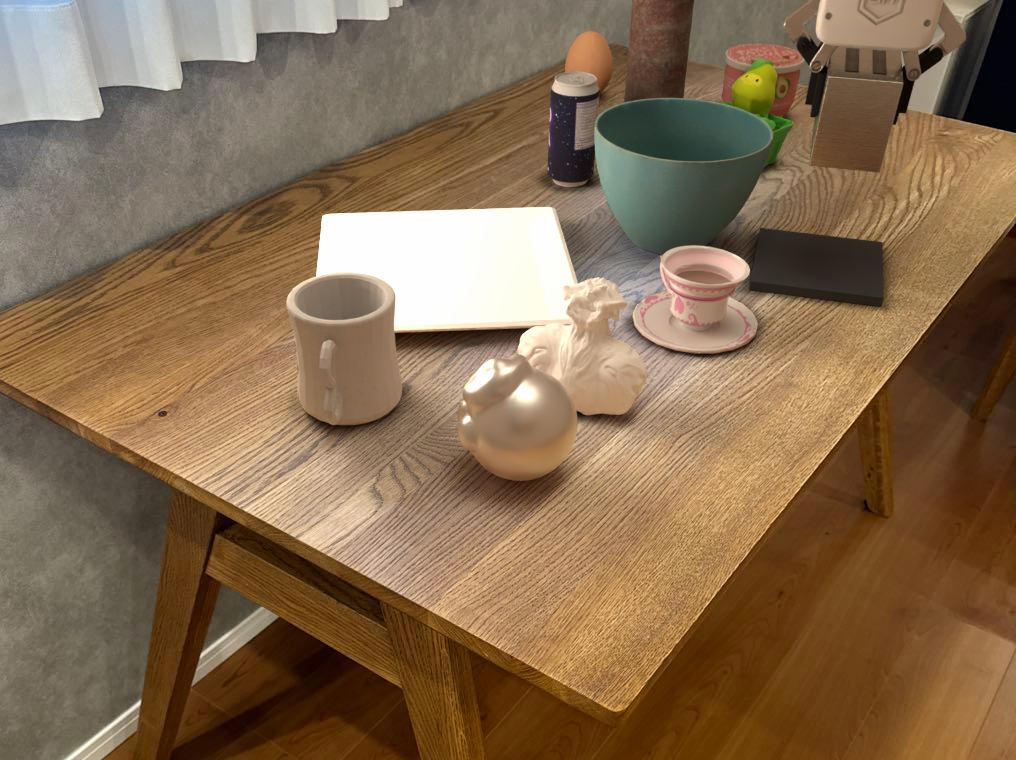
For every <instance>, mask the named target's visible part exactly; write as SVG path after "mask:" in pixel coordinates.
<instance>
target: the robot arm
mask: <svg viewBox="0 0 1016 760" xmlns="http://www.w3.org/2000/svg"><path fill="white" fill-rule="evenodd" d="M815 16H816V21H815V34H816V38H817V39H818V40H819V41H820V42H819V43H818V45H817V44H816V42H814V40H813V38H812V37H811V36H810V35H809V34H808V32H807V31H806V29H805V26H804V25H805V24H806V23H807V22H809V21H810V20H811V19H813V18H814V17H815ZM938 26H939V27H940V29H941V30H942V32H943V33H944V35H943V37H941V38H940V39H939V40H938V41H937V42H935V43H933V44H931V43H932V42H933V39H934V36H935V35H936V31H937V27H938ZM783 29H784V31H785V33H786V34H787V35H788V37H789V38H790V40H791V42H792V43H793V44H794V46H795V47H796V50H797V51H799V53H800V54H801V55H802V57H803V58H804V60H805V63H806V64H807V65H808V67H809V70H810V71H811V72H810V76H809V80H808V87H807V91H806V95H805V101H804V105H806V106H810V107H811V108H810V115H809V118H814V119H815V118H816V116H818V114H819V109H820V104H821V100H822V95H823V91H824V86H825V81H826V76H827V67H826V66H827V61H828V60H829V58H830V57H831V55H832V54H833V53H834V51H835V50H836V48H837V47H838V46H842V47H853V48H866V49H879V50H892V51H901V54H902V57H903V59H902V60H903V64H904V65H902V72H903V87H902V91H901V95H900V98H899V102H898V106H897V110H896V114H895V117H894V121H893V125H892V126H896V125H897V123H898V119H899V116H900V114H907V112H908V108H909V105H910V100H911V98H912V93H913V90H914V87H915V82H916V81H917V80H918V79H920V77H921V76H922V75H923V74H924V73H926V72H927V71H928V70H930V69H931V68H933V67H934V66H936V65H937V64H938V63H940V62H941V61H942V59H943V58H944V57H946V56H947V55H949V54H950V53H953V51H954V50H956V49H957V48H958V47H959V46H961V45H963V43H964V42H966V39H967V34H966V31H965V29H964V27H963V26H962V25H961V23H960V22H959V20H958V19H957V18H956V16H955V15H954V13H953V12H952V11H951V8H949V6H948V5H947V4H946V2H945V0H808V1H806V2H805V3H804V4H802V5H801V6H800V7H798V8H797V9H796V10H794V11H793V12H792V13H791V14H789V15H787V17H786V18H785V19H784V21H783ZM924 49H925V50H924ZM921 50H923V51H921ZM919 51H921V52H920V53H919Z"/></svg>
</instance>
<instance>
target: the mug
mask: <svg viewBox="0 0 1016 760" xmlns="http://www.w3.org/2000/svg"><path fill="white" fill-rule="evenodd" d="M395 300H396V295H395V292H394V290H393V288H392V287H391V286H390V285H389V284H388V283H387V282H385V281H384V280H382V279H380V278H378V277H375V276H372V275H368V274H364V273H355V272H337V273H329V274H323V275H320V276H313V277H310V278H307V279H305V280H303V281H301V282H300V283H298V284H297V285H296V286H294V287H293V288H292V289H291V290H290V292H289V293H288V295H287V297H286V302H285V305H286V310H287V313H288V317H289V320H290V324H291V328H292V332H293V336H294V344H295V352H296V353H295V354H296V361H297V363H296V364H297V381H296V382H297V383H296V384H297V397H298V400H299V403H300V406H301V408H302V409H303V410H304V411H305V412H306V414H309V415H310V416H311V417H314V418H315V419H316V420H318V421H320V422H324V423H327V424H330V425H332V426H337V425H338V426H356V425H364V424H367V423H370V422H374V421H376V420H379V419H381V418H383V417H384V416H386V415H388V414H389V413H390V412H391V411H393V409H395V408H396V407H397V405H398V404H399V402H400V401H401V399H402V396H403V381H402V375H401V370H400V366H399V365H400V364H399V361H398V355H397V345H396V333H394V317H395Z"/></svg>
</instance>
